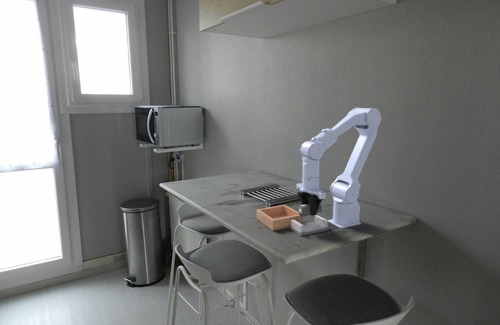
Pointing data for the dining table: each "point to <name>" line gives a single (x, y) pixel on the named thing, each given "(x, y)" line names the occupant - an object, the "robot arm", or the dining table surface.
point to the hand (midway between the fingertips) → (309, 213)
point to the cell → (307, 210)
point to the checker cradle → (309, 226)
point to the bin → (278, 217)
